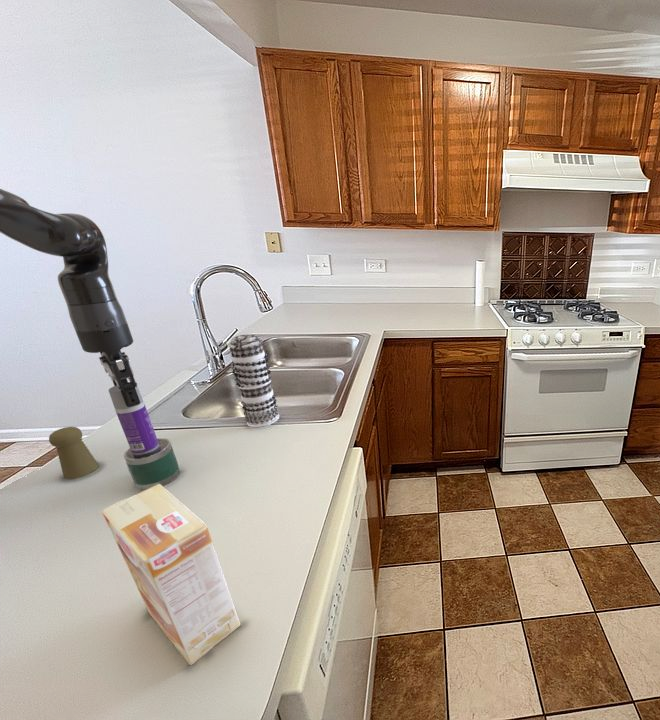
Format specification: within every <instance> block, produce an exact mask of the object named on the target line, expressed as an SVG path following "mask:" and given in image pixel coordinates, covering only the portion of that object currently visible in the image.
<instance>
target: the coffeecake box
mask: <svg viewBox="0 0 660 720" xmlns="http://www.w3.org/2000/svg"><path fill="white" fill-rule="evenodd" d="M100 512H101V514H102V515H103V517H104V520H105V522H106V523H107V525H108V528H109V530H110V532H111V535H112V536H113V539H114V540H115V543H116V545H117V547H118V549H119V551H120V553H121V556H122V558H123V560H124V563H125V564H126V566H127V569H128V571H129V573H130V575H131V577H132V579H133V581H134V583H135V585H136V588H137V590H138V592H139V594H140V596H141V599H142V601H143V602H144V606H145V608H146V610H147V612H148V613H149V615H150V616H151V618H152V619H153V620H154V621H155V623H156V624H157V625H158V627H159V628H160V630H161V631H162V632H163V633H164V634H165V636H166V637H167V638H168V639H169V641H170V642H171V644H173V645H174V647H175V648H176V650H177V651H178V652H179V653H180V655H181V656H182V658H184V660H185V661H186V662H187V663H188V665H189V666H192V665H194V664H196V662H198V661H199V660H200V659H201V658H202V657H203V656H205V655H206V654H208V652H209V651H211V650H212V649H213V648H214V647H215V646H216V645H218V644H219V643H220V642H222V641H223V640H224V639H226V638H227V637H228V636H230V634H232V633H233V632H234V631H236V630H237V629H239V627H240V626H242V625H241V622H240V618H239V615H238V612H237V610H236V607H235V604H234V601H233V598H232V596H231V591H230V589H229V587H228V584H227V580H226V578H225V575H224V572H223V569H222V566H221V563H220V560H219V557H218V554H217V551H216V549H215V546H214V543H213V540H212V537H211V534H210V531H209V527H208V525H207V524H206V523H205V522H204V521H203V520H202V519H201V518H200V517H198V515H196V513H194V512H193V511H192V510H191V509H189V508H188V507H187V506H186V505H185V504H184V503H182V502H181V500H179V499H178V498H177V497H175V495H174V494H172V493H171V492H170V491H168V489H166V488H165V487H164V486H162V485H161V484H157V485H155V486H153V487H151V488H149V489H147V490H141V491H140V492H139V493H137V494H135V495H132V496H130V497H127V498H126V499H121V500H119V501H117V502H115V503H114V504H111V505H109V506H107V507H106V508H103V509H102V510H101V511H100Z"/></svg>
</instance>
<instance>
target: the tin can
mask: <svg viewBox="0 0 660 720" xmlns="http://www.w3.org/2000/svg"><path fill="white" fill-rule="evenodd" d="M157 440H158V443H159V447H158V448H157V449H156V450H154V451H152V452H150V453H147V454H143V455H134V454H132V451H131V449H130V447H129V448H128V449H127V450H126V451H125V452H124V453H123V457H124V461H125V464H126V467H127V469H128V471H129V474H130V476H131V478H132V481H133V483H134V485H135V488H137V490H140V491H144V490H147V489H149V488H151V487H153V486H155V485H157V484H161V485H162V486H163V487H164V486H166V485H169V484H170V483H172V482H173V481H175V480H176V479H177V478H178V477H179V476H180V474H181V469H180V467H179V463H178V460H177V457H176V454H175V451H174V449H173V446H172V444H171V441H170V440H169V439H168V438H163V437H162V438H161V437H160V438H157Z"/></svg>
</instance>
